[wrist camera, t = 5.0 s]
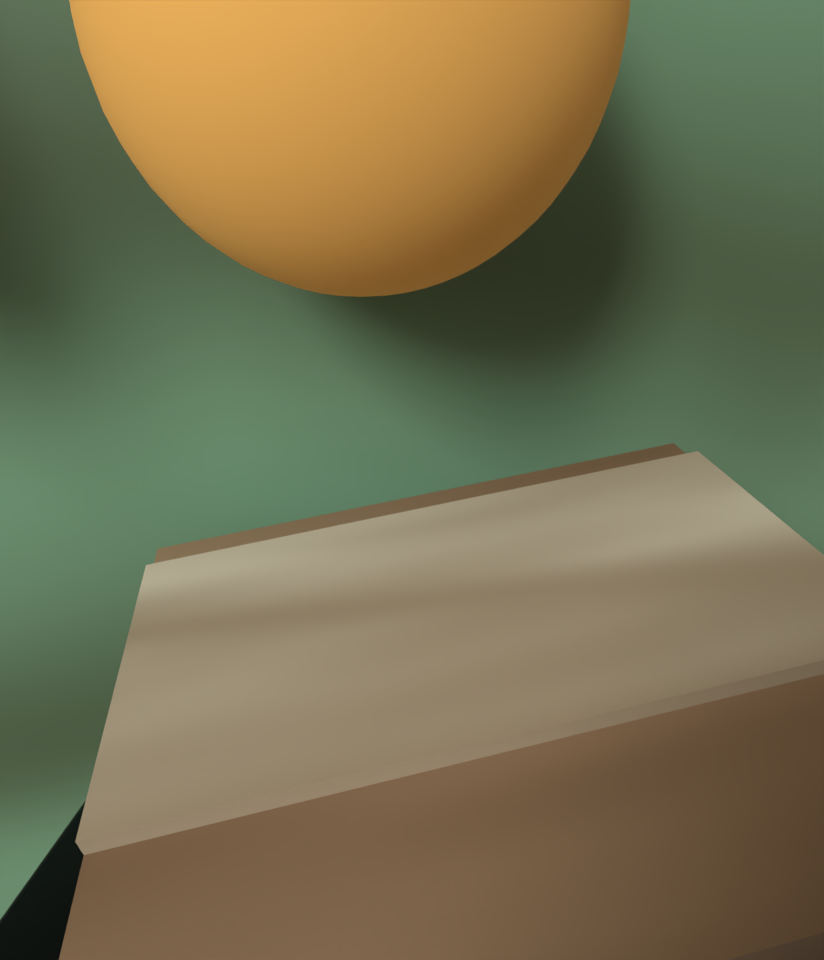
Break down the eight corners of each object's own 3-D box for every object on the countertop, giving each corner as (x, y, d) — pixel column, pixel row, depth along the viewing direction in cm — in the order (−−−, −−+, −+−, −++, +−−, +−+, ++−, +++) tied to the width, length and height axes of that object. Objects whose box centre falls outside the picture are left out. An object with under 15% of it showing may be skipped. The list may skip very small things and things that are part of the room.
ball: (901, -252, 2) (577, -529, 4) (-138, -124, 2) (-69, -480, 4) (624, 342, 6) (503, 69, 7) (196, 429, 5) (161, 125, 7)
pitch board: (804, 781, 18) (876, 873, 16) (-54, 1014, 16) (-104, 1154, 14) (1023, -117, 9) (1264, -188, 7) (-934, 157, 7) (-1487, 181, 5)
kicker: (653, 681, 10) (940, 1118, 6) (247, 779, 9) (230, 1343, 5) (675, 431, 8) (1150, 825, 4) (152, 537, 7) (-4, 1151, 3)
